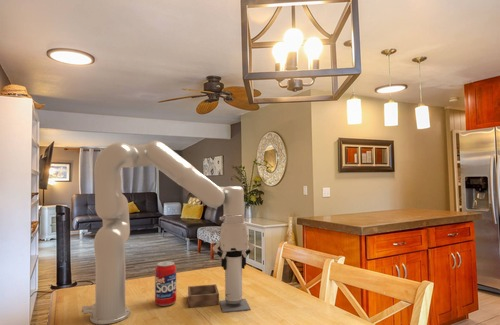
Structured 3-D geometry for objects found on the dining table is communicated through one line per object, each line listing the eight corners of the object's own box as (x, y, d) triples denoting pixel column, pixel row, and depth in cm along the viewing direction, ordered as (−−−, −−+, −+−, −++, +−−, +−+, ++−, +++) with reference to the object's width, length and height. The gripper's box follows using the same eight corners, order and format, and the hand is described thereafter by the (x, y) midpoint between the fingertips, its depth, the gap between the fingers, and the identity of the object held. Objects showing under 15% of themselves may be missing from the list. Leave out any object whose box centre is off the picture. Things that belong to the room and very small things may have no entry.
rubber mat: (222, 312, 115) (222, 311, 115) (219, 302, 125) (219, 300, 125) (250, 310, 117) (250, 308, 117) (245, 299, 127) (245, 298, 127)
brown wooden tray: (188, 307, 120) (188, 296, 120) (188, 296, 131) (188, 286, 131) (219, 304, 122) (219, 293, 122) (216, 294, 133) (216, 284, 133)
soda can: (172, 297, 129) (172, 259, 130) (179, 304, 123) (179, 263, 124) (152, 302, 125) (152, 262, 126) (158, 309, 119) (158, 267, 119)
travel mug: (224, 304, 118) (224, 248, 118) (226, 297, 124) (226, 244, 125) (241, 304, 117) (241, 248, 118) (242, 297, 124) (242, 244, 125)
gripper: (211, 221, 117) (211, 272, 116) (258, 220, 120) (258, 269, 119) (209, 218, 124) (209, 267, 123) (254, 217, 127) (254, 264, 127)
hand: (233, 267), depth 121 cm, fingers closed on travel mug, 6 cm apart
